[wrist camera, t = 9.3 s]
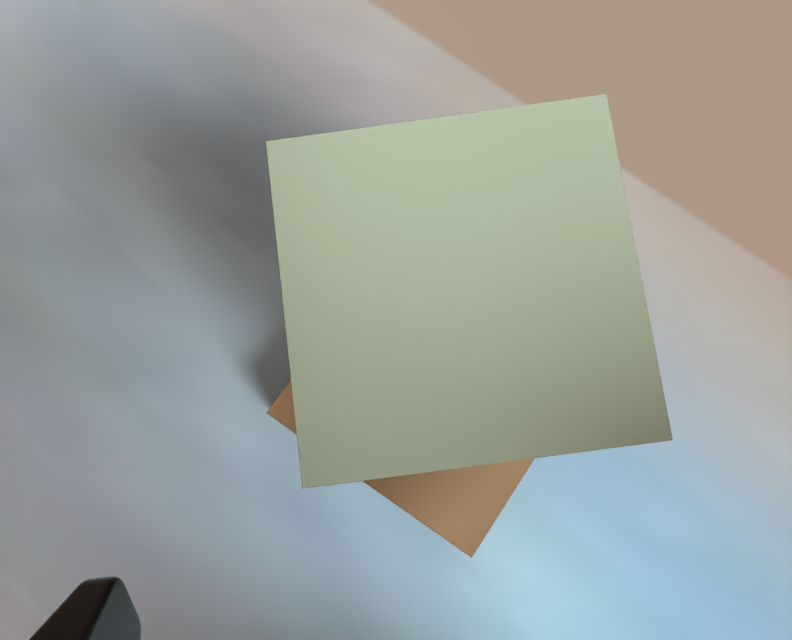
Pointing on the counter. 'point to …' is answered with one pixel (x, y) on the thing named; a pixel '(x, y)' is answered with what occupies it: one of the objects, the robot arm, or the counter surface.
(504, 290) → the sage block
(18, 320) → the counter surface
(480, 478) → the tan slab
